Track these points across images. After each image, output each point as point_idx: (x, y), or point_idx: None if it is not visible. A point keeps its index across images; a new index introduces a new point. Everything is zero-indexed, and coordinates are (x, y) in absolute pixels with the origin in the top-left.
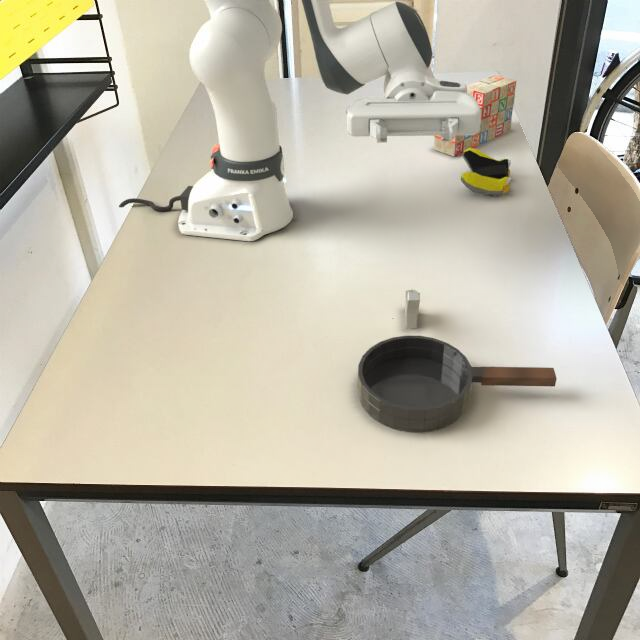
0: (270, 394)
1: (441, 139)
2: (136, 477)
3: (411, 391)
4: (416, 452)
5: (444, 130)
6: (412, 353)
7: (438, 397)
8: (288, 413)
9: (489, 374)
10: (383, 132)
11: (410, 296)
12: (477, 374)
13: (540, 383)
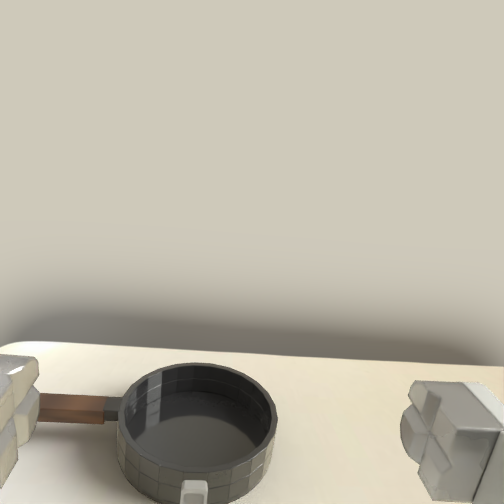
0: (381, 441)
1: (17, 457)
2: (438, 366)
3: (200, 433)
4: None
5: (14, 358)
6: None
7: (165, 424)
8: (345, 416)
9: (97, 399)
10: (438, 381)
11: (201, 485)
12: (115, 398)
13: None
